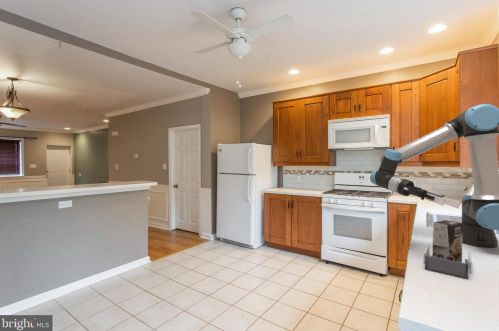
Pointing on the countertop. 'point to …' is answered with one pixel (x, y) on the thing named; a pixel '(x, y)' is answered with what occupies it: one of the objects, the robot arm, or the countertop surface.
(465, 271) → the gray u-shaped bracket
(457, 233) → the coffee box
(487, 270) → the countertop surface
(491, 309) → the countertop surface
